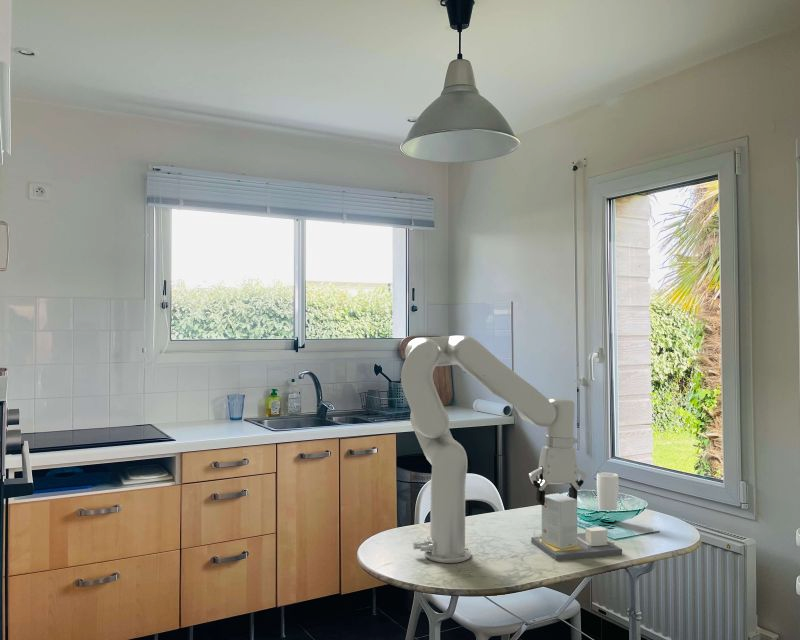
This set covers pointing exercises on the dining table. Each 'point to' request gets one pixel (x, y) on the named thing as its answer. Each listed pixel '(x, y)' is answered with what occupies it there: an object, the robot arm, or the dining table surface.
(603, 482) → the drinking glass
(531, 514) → the dining table surface
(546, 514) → the small box
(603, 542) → the lever
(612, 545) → the plate
